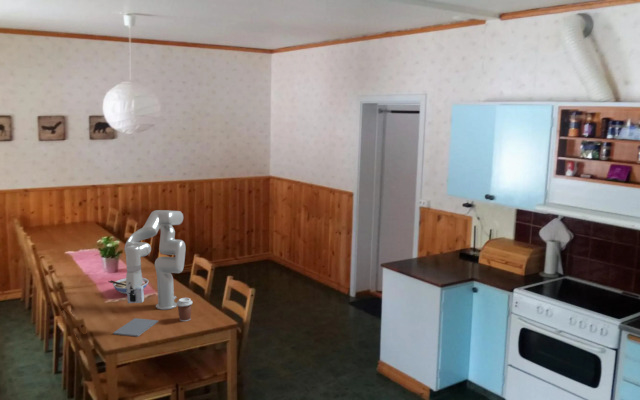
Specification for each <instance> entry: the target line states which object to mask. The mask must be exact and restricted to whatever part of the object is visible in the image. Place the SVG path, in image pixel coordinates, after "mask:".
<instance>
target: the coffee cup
mask: <svg viewBox="0 0 640 400" xmlns="http://www.w3.org/2000/svg"><path fill="white" fill-rule="evenodd" d="M176 303H177V310H178V311H177V312H178V316H179V317H178V318H179V321H180V322H188V321H191V320H192V305H193V300H191V298H189V297H182V298H179V299H177V302H176Z"/></svg>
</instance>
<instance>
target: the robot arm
mask: <svg viewBox="0 0 640 400" xmlns="http://www.w3.org/2000/svg"><path fill="white" fill-rule="evenodd" d="M183 221H184V213H182V211H180V210H170V209H169V210H168V209H167V210H164V209H163V210H162V209H160V210H159V209H157V210H153V211H151V213H150V214H149V216H148V218H147V219H146V221H145V224H144V225H143V227H141V228H139V229H137V230H136V231H134V232H133V233H131V234H130V235H129V237H128V238H127V240H126V242H125V244H124V245H125V246H124V253H125V258H126V259H125V261H126V275H125V278H126V289H127V292H128V293H129V295H130V301H131V302H136V295H135V289H137V288H138V287H140V286H142V284H143V281H142V278H143V273H142V272H143V271H142V260H141V258H142V257H146V256H148V255H150V253H151V251H152V247H151V245H150V244H149V243H147V242H145V241H144V240H146V239H147V240H148V239H151V238H153V237H155V236H157V235H158V232H159V231H160V237H159V246H158V247H159V248H158V250H159V253H160V254H161V255H169V256H160V257H157V258H155V261H154V268H155V272H156V280H157V283H156V284H157V285H156V286H157V300H158V303H156V304H155V308H156V309H157V310H164V311H166V310H172V309H175V308H176V307H178V305H177V302H175V300H176V299H177V295H175V289H174V287H175V286H174V277H173V274H180V273H182V272H183V271H184V267H185V259H186V252H187V251H186V248H187V247H186V243H185V241H184V240H182V239H176V238H175V236H176V231H175V228H174V227H173V226H179V225H181V224H182V223H183ZM141 241H144V242H141ZM171 255H172V257H171ZM131 288H133V289H131ZM131 290H133V292H132V291H131Z"/></svg>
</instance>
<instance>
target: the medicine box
mask: <svg viewBox="0 0 640 400" xmlns="http://www.w3.org/2000/svg"><path fill="white" fill-rule="evenodd" d="M131 289H133V288H131ZM131 291H132V292H133V290H131ZM144 291H145V290H144V289H143V286H140V287H138V288H137V289H135V295H136V302H131V301H130V295H129V293H128V292H127V294H126V295H127V304H141V303H143V302H144V301H145V295H144V294H145V293H144Z"/></svg>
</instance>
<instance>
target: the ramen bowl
mask: <svg viewBox="0 0 640 400" xmlns="http://www.w3.org/2000/svg"><path fill="white" fill-rule="evenodd" d="M142 281H143V284H142V286H143V290H144V289H145V288H146V287H147V286H148V284H149V279H147V278H145V277H142ZM108 283H110V284H112V285H113V288H114V289H115V290H116V292H119V293H121V294H124V295H127V289H126V277H125V278H120V279H118V280H110V281H109V280H108Z"/></svg>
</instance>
